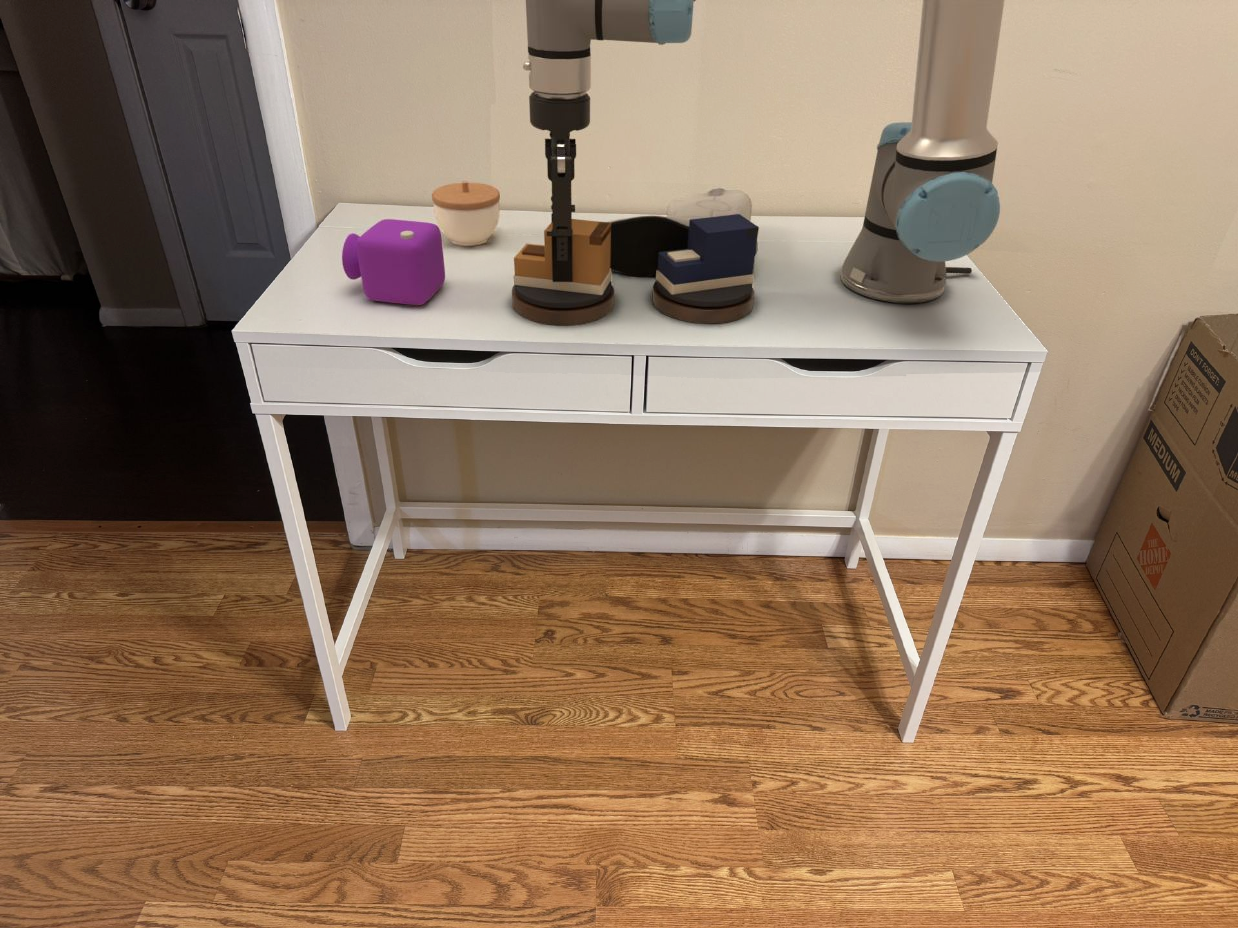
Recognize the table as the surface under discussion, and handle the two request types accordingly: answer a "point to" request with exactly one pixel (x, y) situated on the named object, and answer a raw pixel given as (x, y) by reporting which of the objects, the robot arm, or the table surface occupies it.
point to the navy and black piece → (711, 263)
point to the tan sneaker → (587, 268)
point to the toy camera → (396, 261)
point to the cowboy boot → (668, 229)
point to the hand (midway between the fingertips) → (562, 269)
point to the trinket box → (467, 212)
